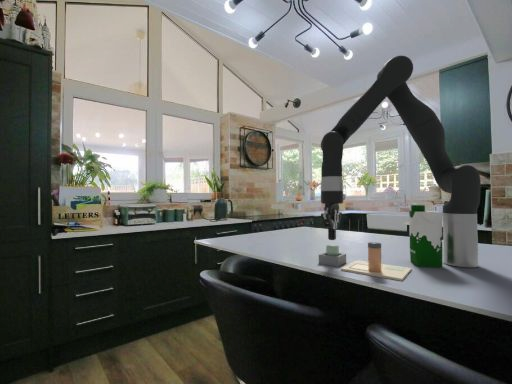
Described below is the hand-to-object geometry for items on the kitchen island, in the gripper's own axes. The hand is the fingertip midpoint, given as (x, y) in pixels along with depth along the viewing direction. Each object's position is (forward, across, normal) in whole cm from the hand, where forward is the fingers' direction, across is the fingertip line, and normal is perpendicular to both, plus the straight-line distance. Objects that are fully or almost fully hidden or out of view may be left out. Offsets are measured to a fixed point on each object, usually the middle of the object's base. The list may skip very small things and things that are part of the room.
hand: (332, 239), depth 93 cm
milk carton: (+8, +18, -26) cm, 32 cm away
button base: (+8, 0, 0) cm, 8 cm away
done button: (+6, 0, 0) cm, 6 cm away
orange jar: (+7, -4, -15) cm, 17 cm away
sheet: (+8, 0, -15) cm, 17 cm away
